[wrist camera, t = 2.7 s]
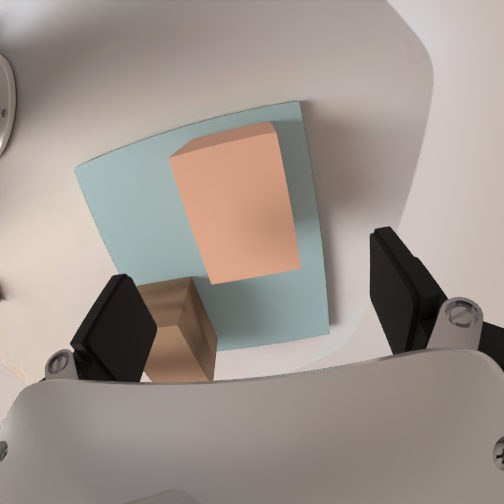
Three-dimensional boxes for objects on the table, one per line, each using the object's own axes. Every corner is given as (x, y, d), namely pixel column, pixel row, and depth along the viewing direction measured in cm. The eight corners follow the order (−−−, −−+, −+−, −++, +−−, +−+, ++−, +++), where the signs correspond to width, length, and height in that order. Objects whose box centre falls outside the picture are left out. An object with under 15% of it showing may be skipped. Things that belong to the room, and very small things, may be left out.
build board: (80, 164, 21) (73, 168, 20) (296, 101, 19) (299, 101, 18) (168, 348, 32) (166, 355, 31) (327, 325, 30) (329, 333, 29)
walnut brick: (137, 285, 25) (115, 331, 20) (191, 276, 25) (177, 325, 20) (169, 343, 29) (157, 388, 24) (217, 338, 29) (212, 386, 24)
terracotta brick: (191, 139, 19) (168, 158, 14) (269, 120, 18) (276, 132, 13) (220, 238, 23) (211, 284, 18) (290, 224, 22) (301, 268, 17)
